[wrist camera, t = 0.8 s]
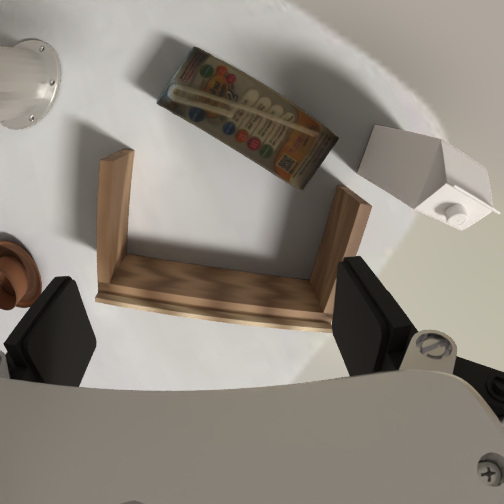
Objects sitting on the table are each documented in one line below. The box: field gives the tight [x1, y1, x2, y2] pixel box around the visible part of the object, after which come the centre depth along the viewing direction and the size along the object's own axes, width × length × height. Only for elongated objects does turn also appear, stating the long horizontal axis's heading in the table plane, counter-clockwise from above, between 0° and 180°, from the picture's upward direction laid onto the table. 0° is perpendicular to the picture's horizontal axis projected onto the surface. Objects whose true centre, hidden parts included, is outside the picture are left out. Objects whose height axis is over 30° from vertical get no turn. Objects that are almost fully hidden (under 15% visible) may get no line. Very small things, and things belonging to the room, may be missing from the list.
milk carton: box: [357, 125, 500, 230], centre depth 31 cm, size 7×7×19 cm
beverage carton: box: [157, 47, 339, 190], centre depth 34 cm, size 8×19×6 cm, turn 57°
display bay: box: [95, 149, 372, 333], centre depth 38 cm, size 29×16×9 cm, turn 79°
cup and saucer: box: [0, 241, 42, 310], centre depth 40 cm, size 12×12×6 cm
